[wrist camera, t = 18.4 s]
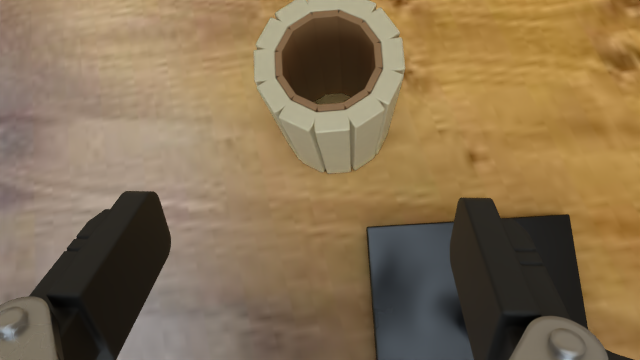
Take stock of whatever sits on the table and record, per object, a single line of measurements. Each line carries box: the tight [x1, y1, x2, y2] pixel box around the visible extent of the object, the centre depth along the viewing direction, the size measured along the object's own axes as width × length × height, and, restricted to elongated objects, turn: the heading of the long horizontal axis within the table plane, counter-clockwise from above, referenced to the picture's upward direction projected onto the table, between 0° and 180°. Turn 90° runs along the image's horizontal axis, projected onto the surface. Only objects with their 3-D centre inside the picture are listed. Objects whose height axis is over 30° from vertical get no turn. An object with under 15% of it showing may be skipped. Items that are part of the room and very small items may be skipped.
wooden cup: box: [254, 0, 405, 174], centre depth 22 cm, size 6×6×8 cm
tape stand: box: [366, 214, 588, 360], centre depth 19 cm, size 11×11×9 cm
